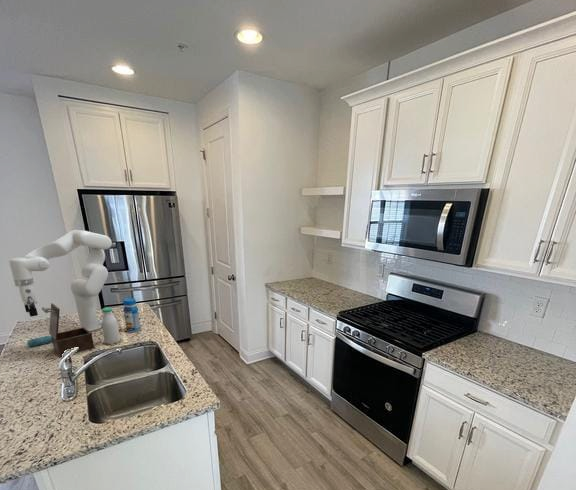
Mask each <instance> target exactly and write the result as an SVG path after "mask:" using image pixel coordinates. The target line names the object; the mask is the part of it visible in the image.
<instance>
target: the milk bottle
mask: <svg viewBox="0 0 576 490" xmlns="http://www.w3.org/2000/svg"><path fill="white" fill-rule="evenodd" d="M102 314H103V316H102V319H101V320H102V324H101V325H102V327H101V328H102V333H103V338H104V339H103V340H104V343H105V344H107V345H113V344H117V343H119V342H120V341H121V335H120V329H119V324H118V321H117V318H115V316H114V314H113V309H112V307H103V308H102Z"/></svg>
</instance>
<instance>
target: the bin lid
mask: <svg viewBox="0 0 576 490" xmlns="http://www.w3.org/2000/svg"><path fill="white" fill-rule="evenodd" d="M41 310H42V311H43V313H45V314H48V313H50V315H49V328H48V329H49V331H48V334H49V336H52V337H53V338H54V339H55V340H56V341H57V340H58V333H59V325H60V324H59V323H60V310H61V309H60V307H58V306H57V305H55V304H54V303H53V302H52V303H50V307H44V306H43V307H41Z"/></svg>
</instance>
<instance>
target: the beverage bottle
mask: <svg viewBox="0 0 576 490" xmlns="http://www.w3.org/2000/svg"><path fill="white" fill-rule="evenodd" d="M122 301H123V317H124V321H125V329H126V332H129V333H134V332H138V331H141V328H142V327H141V321H140V312H139V308H138V306H137V305H136V304H137V301H136V298H134V297H127V298H123V300H122Z"/></svg>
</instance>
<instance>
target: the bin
mask: <svg viewBox="0 0 576 490" xmlns="http://www.w3.org/2000/svg"><path fill="white" fill-rule="evenodd" d="M50 336H51V335H50ZM51 339H52V341H51V343H52V347H53V351H55V353H56V354H57V356H59V357H60V358H63V357H62V354H63V353H64V351H65V350H67V349H71V348H74V347H79V350H78V351H77V352H75V353H74V354H78V353H81V352H85V351H89V350H92V349H95V344H94V338H93V333H92V331H88V330H87V329H85V328H84V327H82V328H79V327H78V328H74V329H70V330H63V331H60V332H58V340H57V341H56V340H55V339H54V338H53V337H52V336H51Z"/></svg>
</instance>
